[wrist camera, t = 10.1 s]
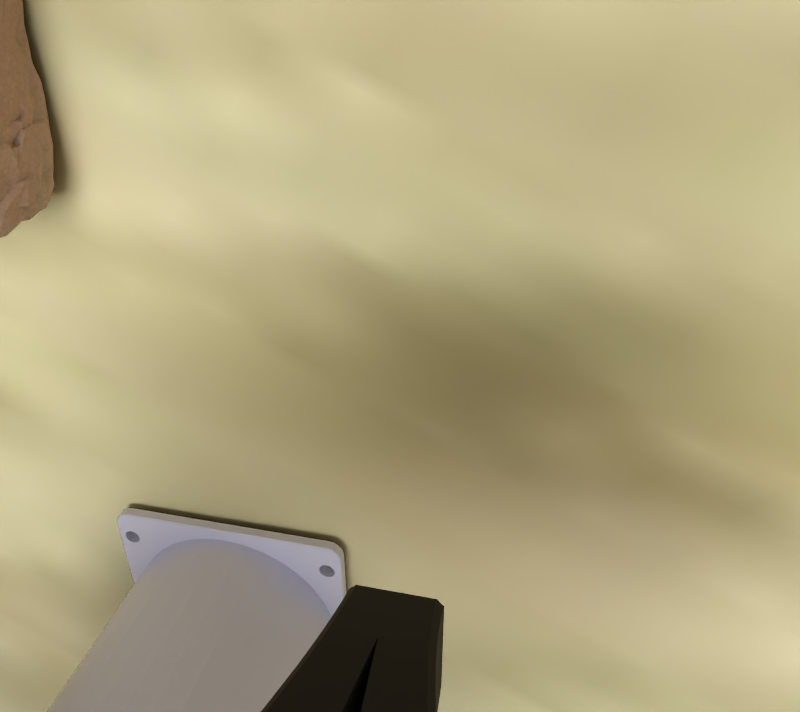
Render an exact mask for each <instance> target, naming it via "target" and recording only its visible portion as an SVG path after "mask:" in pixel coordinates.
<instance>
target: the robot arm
mask: <svg viewBox="0 0 800 712" xmlns="http://www.w3.org/2000/svg"><path fill="white" fill-rule="evenodd" d="M117 523H118V527H119V531H120V534H121V538H122V541H123V545H124V549H125V552H126V556H127V559H128V563H129V567H130V570H131V574H132V577H133V581H134V586H133V587H132V589H131V590H130V592H129V593H128V595H127V596H126V598H125V599H124V600H123V602H122V603H121V605H120V606H119V608H118V609H117V611H116V612H115V613H114V615H113V616H112V618H111V619H110V621H109V622H108V624H107V625H106V626H105V628H104V629H103V631H102V632H101V634H100V635H99V637H98V638H97V640H96V641H95V642H94V644H93V645H92V647H91V648H90V650H89V651H88V653H87V654H86V655H85V657H84V658H83V660H82V661H81V663H80V664H79V666H78V667H77V669H76V670H75V671H74V673H73V674H72V676H71V677H70V679H69V680H68V682H67V683H66V684H65V686H64V687H63V689H62V690H61V692H60V693H59V695H58V696H57V698H56V699H55V700H54V702H53V703H52V705H51V706H50V708H49V709H48V711H47V712H437V710H438V703H439V696H440V689H441V676H442V648H443V620H444V606H443V605H442V604H441V603H440V602H439V601H438V600H437V599H432V598H426V597H421V596H415V595H409V594H404V593H398V592H393V591H387V590H381V589H376V588H370V587H365V586H359V585H355V586H354V587H352V588H350V589H349V590H348V592H347V593H346V578H345V562H344V553H343V550H342V549H341V548H340V547H339V546H338V545H337V544H335V543H333V542H330V541H325V540H319V539H313V538H307V537H301V536H295V535H289V534H283V533H277V532H271V531H265V530H259V529H253V528H247V527H241V526H236V525H230V524H224V523H218V522H212V521H206V520H200V519H194V518H188V517H182V516H176V515H170V514H164V513H158V512H152V511H146V510H140V509H134V508H127V509H125V510H123V512H122V513H121V514H120V515H119V517H118V519H117ZM326 565H327V566H330V567H331V568H330V567H327V566H326Z"/></svg>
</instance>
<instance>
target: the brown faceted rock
mask: <svg viewBox="0 0 800 712" xmlns="http://www.w3.org/2000/svg"><path fill="white" fill-rule="evenodd" d="M53 171H54V168H53V142H52V137H51V132H50V127H49V119H48V113H47V107H46V101H45V96H44V91H43V87H42V82H41V79H40V77H39V75H38V73H37V71H36V69H35V67H34V65H33V62H32V59H31V53H30V47H29V43H28V39H27V34H26V30H25V26H24V12H23V1H22V0H0V237H4V236H7V235H8V234H9V233H10V232H11V231H12V230H13V229H14V228H15V227H16V226H17V225H18V224H19V223H20V222H21V221H24V220H30V219H31V218H32V217H33V216H34V215H36V214H37V213H38V212H39V211H40V210H42V209H44V208H46V207H47V204H48V201H49V199H50V196H51V193H52V190H53V188H54V180H53Z"/></svg>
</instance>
